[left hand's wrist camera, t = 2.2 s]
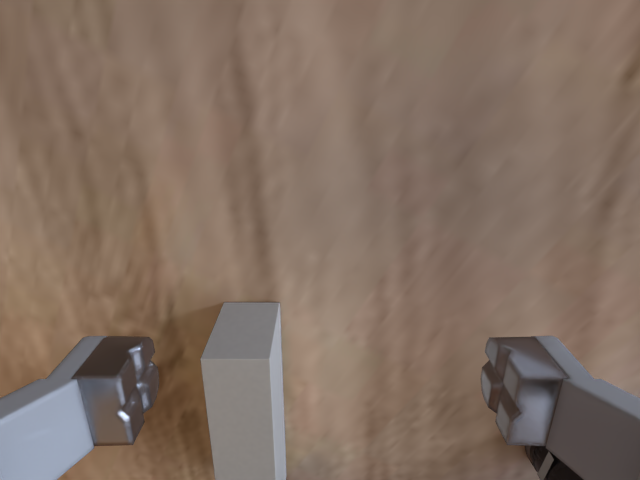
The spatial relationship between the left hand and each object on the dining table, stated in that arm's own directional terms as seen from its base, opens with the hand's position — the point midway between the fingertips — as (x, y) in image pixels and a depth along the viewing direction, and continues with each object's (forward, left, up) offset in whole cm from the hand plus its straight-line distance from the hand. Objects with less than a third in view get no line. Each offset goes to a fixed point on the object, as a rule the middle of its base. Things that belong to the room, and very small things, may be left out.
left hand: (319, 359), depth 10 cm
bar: (+13, +24, -29) cm, 40 cm away
